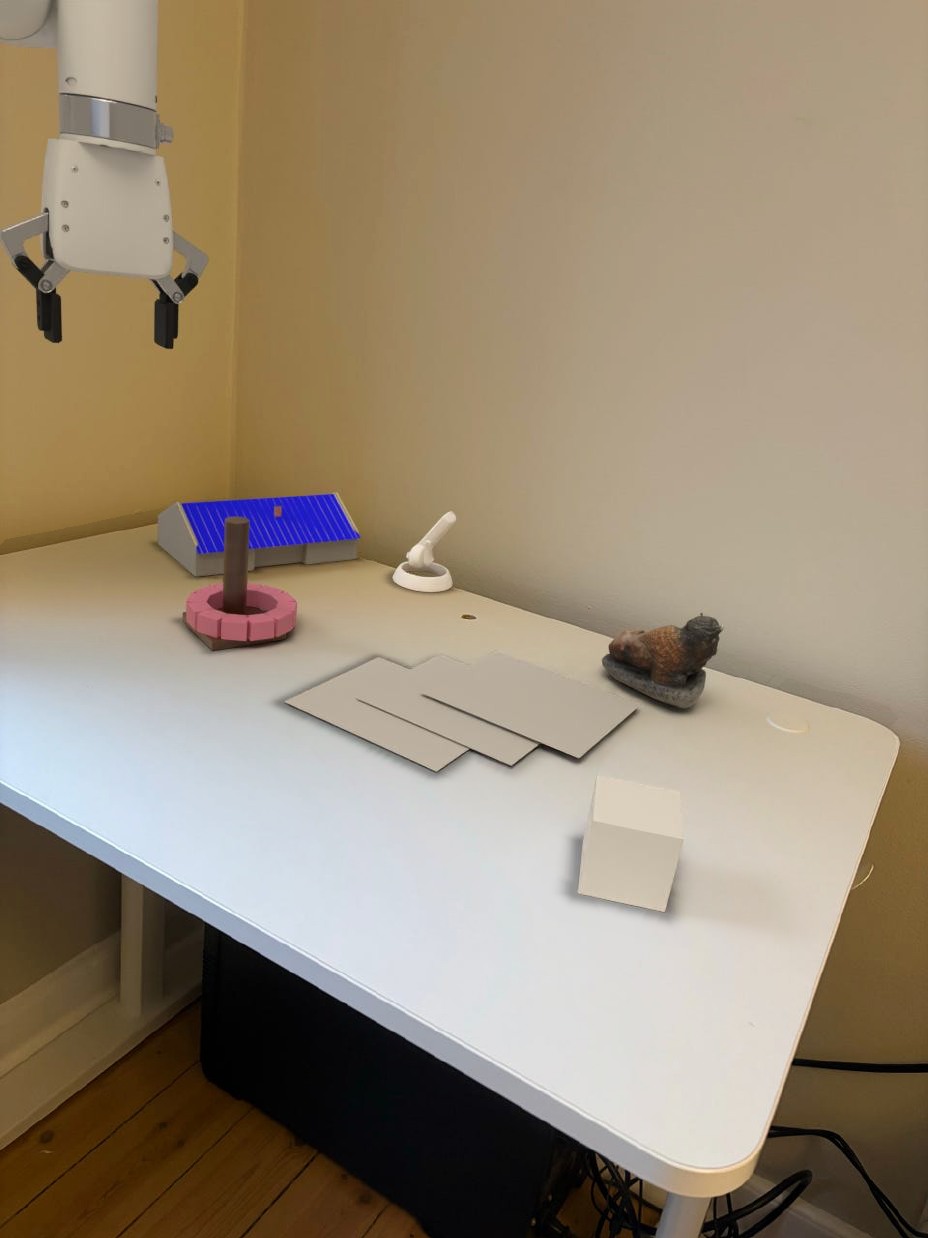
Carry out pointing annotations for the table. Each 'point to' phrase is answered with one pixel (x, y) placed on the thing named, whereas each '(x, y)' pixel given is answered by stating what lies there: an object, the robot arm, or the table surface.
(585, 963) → the table surface
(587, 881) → the off-white cube
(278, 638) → the stand
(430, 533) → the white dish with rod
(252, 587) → the ring
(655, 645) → the bison figurine
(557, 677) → the paper stack
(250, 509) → the roof
